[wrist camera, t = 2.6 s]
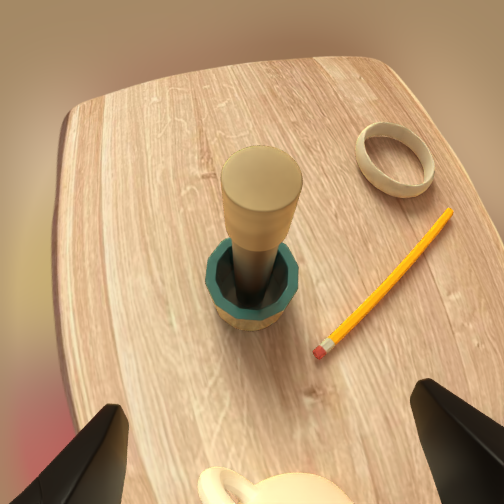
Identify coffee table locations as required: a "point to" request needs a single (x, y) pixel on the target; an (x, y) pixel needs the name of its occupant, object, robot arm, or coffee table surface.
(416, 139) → the ring
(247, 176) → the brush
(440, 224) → the pencil
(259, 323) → the pot
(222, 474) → the mug
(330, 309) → the coffee table surface
